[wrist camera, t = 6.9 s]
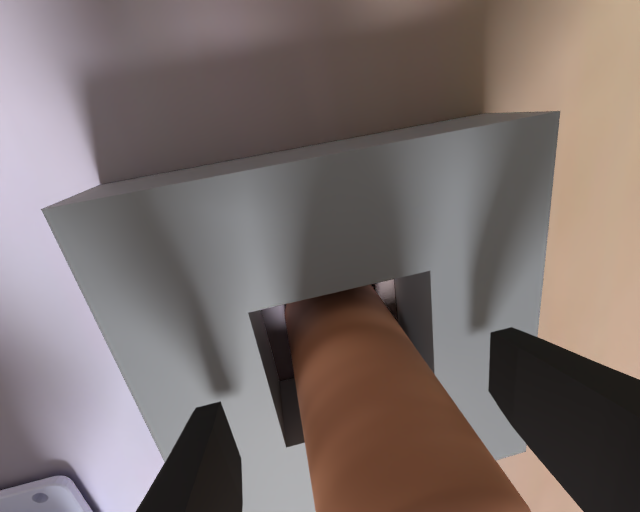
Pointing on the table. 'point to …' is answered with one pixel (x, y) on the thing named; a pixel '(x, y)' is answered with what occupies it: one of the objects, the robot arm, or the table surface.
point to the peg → (383, 417)
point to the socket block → (315, 272)
